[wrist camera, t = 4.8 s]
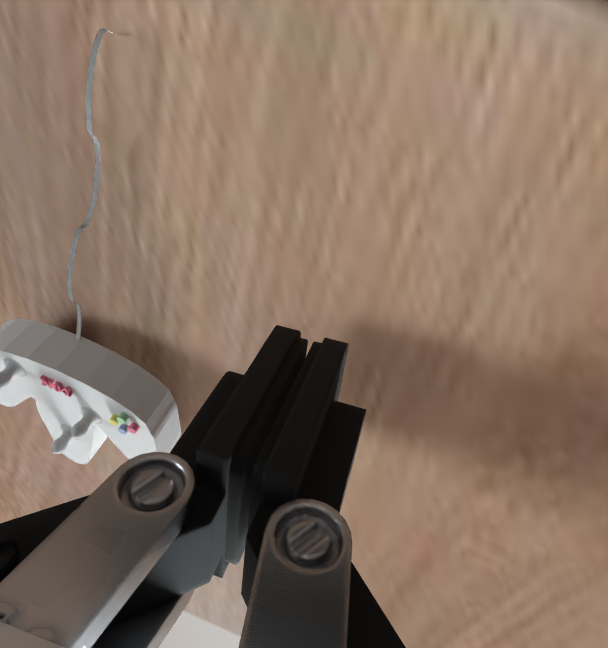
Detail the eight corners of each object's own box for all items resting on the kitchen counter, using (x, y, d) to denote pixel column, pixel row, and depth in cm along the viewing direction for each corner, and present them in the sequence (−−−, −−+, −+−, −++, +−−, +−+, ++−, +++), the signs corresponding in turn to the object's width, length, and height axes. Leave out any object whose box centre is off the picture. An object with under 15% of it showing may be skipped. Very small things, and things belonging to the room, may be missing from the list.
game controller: (47, 425, 17) (-15, 484, 15) (-102, 35, 11) (-242, 38, 9) (198, 457, 15) (154, 527, 13) (119, 27, 10) (16, 29, 7)
